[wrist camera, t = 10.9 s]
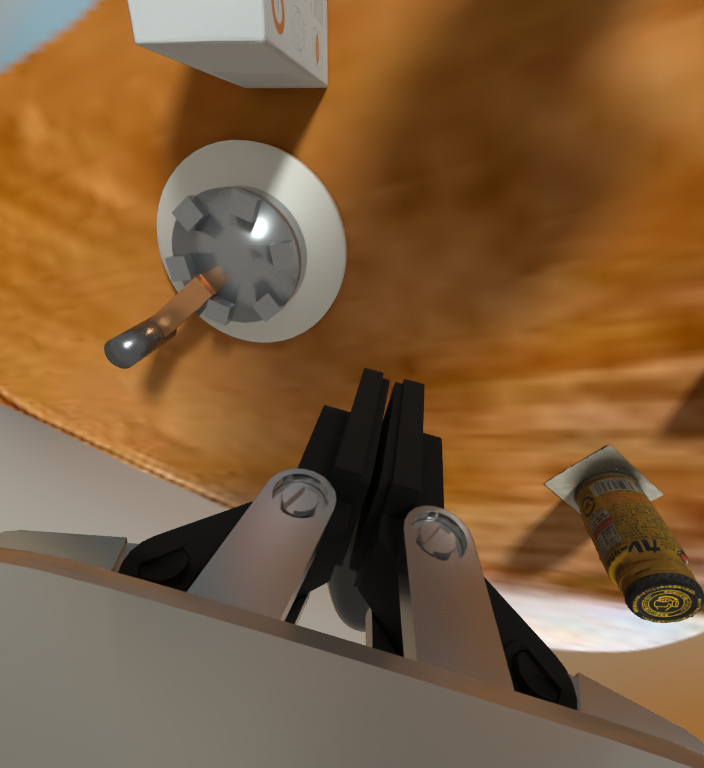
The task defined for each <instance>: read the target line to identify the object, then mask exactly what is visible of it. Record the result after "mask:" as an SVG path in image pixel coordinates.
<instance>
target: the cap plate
mask: <svg viewBox="0 0 704 768" xmlns="http://www.w3.org/2000/svg"><path fill="white" fill-rule="evenodd" d="M229 186H249V187H254V188H257V189H260V190H262V191H265V192H267V193H268V194H270V195H272V196H273V197H275V198H276V199H278V200H279V201H280V202H281V203H282V204H283V205H284V206H286V208H287V209H288V210H289V211H290V212H291V213H292V215H293V216H294V218H295V219H296V221H297V223H298V225H299V227H300V229H301V231H302V234H303V236H304V240H305V244H306V250H307V267H306V273H305V276H304V279H303V282H302V284H301V286H300V288H299V290H298V291H297V292H296V294H295V295H294V296H293V297H292V298H291V299H290V300H289V301H288V302H287V303H286V306H285V307H284V308H283V309H282V310H281V311H279V312H278V313H277V314H276V315H274V316H273V317H272V318H271V319H269V320H268V321H267V322H265V321H264V320H261V321H257V322H249V323H242V322H234V321H231V322H230V323H228V324H227V325H226V326H225V325H222V324H220V323H218V322H215V321H213V320H211V319H208V318H206V317H205V312H206V309H205V308H204V307H203V306H201V307H200V308H199V309H198V310H197V311H196V312H195V313H196V314H197V315H198V316H199V317H200V318H202V319H203V320H204V321H205V322H207V323H208V324H209V325H211V326H213V327H214V328H216V329H218V330H219V331H221V332H223V333H225V334H228V335H230V336H233V337H235V338H238V339H242V340H246V341H251V342H261V343H264V342H277V341H283V340H287V339H290V338H293V337H295V336H297V335H299V334H302V333H304V332H305V331H307V330H308V329H310V328H311V327H313V326H314V325H315V324H316V323H317V322H318V321H319V320H320V319H321V318H322V317H323V316H324V315H325V313H326V312H327V311H328V309H329V308H330V306H331V305H332V303H333V302H334V300H335V298H336V297H337V295H338V293H339V290H340V288H341V286H342V282H343V279H344V276H345V271H346V264H347V242H346V234H345V229H344V225H343V221H342V218H341V215H340V213H339V210H338V208H337V206H336V204H335V202H334V200H333V198H332V196H331V194H330V193H329V191H328V190H327V188H326V187H325V185H324V184H323V182H322V181H321V180H320V179H319V178H318V177H317V175H316V174H315V173H314V172H313V171H312V170H311V169H310V168H309V167H307V166H306V165H305V164H304V163H303V162H301V161H300V160H299V159H297V158H296V157H294V156H293V155H291V154H289V153H287V152H286V151H284V150H282V149H280V148H277V147H274V146H271V145H268V144H265V143H259V142H254V141H247V140H228V141H220V142H216V143H213V144H210V145H206V146H204V147H202V148H201V149H199V150H197V151H195V152H193V153H192V154H191V155H189V156H188V157H187V158H185V159H184V160H183V161H182V162H181V163H180V164H179V165H178V167H177V168H176V169H175V170H174V172H173V173H172V175H171V176H170V178H169V179H168V181H167V183H166V185H165V187H164V190H163V193H162V196H161V199H160V202H159V208H158V214H157V238H158V245H159V250H160V254H161V258H162V261H163V264H164V267H165V269H166V272H167V274H168V276H169V278H170V280H171V282H172V284H173V286H174V287H175V289H176V290H177V292H178V293H179V292H180V291H181V290H182V289H183V288H184V287H185V286H184V284H183V282H182V281H176V282H173V281H172V278H171V275H170V273H169V270H168V267H167V264H166V261H165V258H167V257H169V256H173V253H172V233H173V228H174V224H175V221H176V218H175V216H174V215H173V214H172V212H173V211H174V210H175V208H176V207H177V206H178V205H179V204H180V203H181V202H182V201H183V200H184V199H185V198H186V196H190V195H194V196H196V195H197V194H199V193H201V192H204V191H206V190H209V189H213V188H220V187H229Z"/></svg>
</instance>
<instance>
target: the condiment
mask: <svg viewBox="0 0 704 768" xmlns="http://www.w3.org/2000/svg"><path fill="white" fill-rule="evenodd" d="M616 468H617V470H616ZM575 481H576V484H574V482H575ZM544 484H545V485H546V486H547V487H548V488H550V489H551V490H552V491H553V492H554V493H555V494H557V495H558V496H559V497H560V498H561V499H562V500H564V501H565V502H566V503H567V504H569V505H570V506H571V507H572V508H574V509H575V510H576V511H577V512H578V513H579V514H581V516H582V518H583V521H584V524H585V527H586V529H587V531H588V533H589V535H590V537H591V539H592V541H593V543H594V545H595V547H596V550H597V552H598V554H599V559H600V560H601V561H602V563H603V565H604V568H605V570H606V572H607V574H608V576H609V578H610V579H611V581H612V582H613V583H614V584H615V585H616V586H618V588H619V590H620V592H621V594H622V595H623V596H624V598H625V602H626V604H627V606H628V608H629V609H630V610H631V611H632V612H633V613H634V614H635V615H637V616H638V617H640V618H641V619H644V620H649V621H652V622H658V623H669V622H678V621H682V620H685V619H687V618H689V617H693V615H694V614H696V613H697V612H699V611H700V609H701V608H702V606H703V604H704V593H703V590H702V588H701V587H700V585H699V584H698V583H697V581H696V579H695V577H694V575H693V573H692V572H691V570H690V562H689V559H688V557H687V556H686V554H685V552H684V551H683V549H682V548H681V546H680V545H679V543H678V542H677V540H676V539H675V537H674V536H673V535H672V533H671V531H670V530H669V528H668V527H667V525H666V524H665V522H664V521H663V519H662V518H661V516H660V515H659V513H658V512H657V510H656V509H655V507H654V506H653V504H652V503H651V502H650V501H652V500H654V499H656V498H658V497H660V496H662V495H663V494H662V493H661V492H660V491H659V490H658V489H657V488H656V487H655V486H654V485H653V484H652V483H651V482H649V481H648V480H647V479H646V478H645V477H644V476H643V475H642V474H641V473H640V472H639V471H638V470H637V469H635V468H634V467H633V466H632V465H631V464H630V463H629V462H628V461H627V460H626V459H625V458H624V457H623V456H621V455H620V454H619V453H618V452H617V451H616V450H615V449H614V448H613V447H612V446H611V445H609V446H607V447H605V448H604V449H602V450H599V451H597V452H596V453H594V454H592V455H590V456H589V457H587V458H585V459H583V460H582V461H580V462H578V463H577V464H575V465H574V466H572V467H569V468H568V469H567V470H566V471H564V472H562V473H561V474H559V475H557V476H555V477H554V478H553V479H551V480H549V481H548V482H546V483H544ZM574 485H576V487H574Z"/></svg>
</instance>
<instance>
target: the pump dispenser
mask: <svg viewBox="0 0 704 768" xmlns="http://www.w3.org/2000/svg"><path fill="white" fill-rule="evenodd" d="M357 522H358V521H357ZM356 527H357V524H356ZM356 527H355V529H354V532H353V535H352V538H351V541H350V544H349V547H348V550H347V553H346V556H345V559H344V562H343V565H342V567H339V566H336V565H335V567H334V570H333V573H332V576H331V579H330V581H329V582H327V584H328V589H329V593H330V597H331V600H332V602H333V605H334V608H335V610H336V612H337V614H338V616H339V617H340V619H341V620H342V621H343V622H344V623H345V624H346V625H347V626H349V627H350V628H352V629H354V630H357V631H362V632H366V610H367V606H368V604H367V602H366V601H365V599H364V598H363V596H362V595H361V593H360V592H359V590H358V587H355V586H354V582H355V576H356V571H353V570H349V563H350V558H351V553H352V547H353V542H354V537H355V532H356Z"/></svg>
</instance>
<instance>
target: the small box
mask: <svg viewBox="0 0 704 768" xmlns="http://www.w3.org/2000/svg"><path fill="white" fill-rule="evenodd" d="M127 4H128V9H129V15H130V20H131V25H132V30H133V35H134V42H135V43H136V44H137V45H139V46H141V47H144V48H146V49H148V50H151V51H153V52H156V53H158V54H161V55H163V56H166V57H168V58H171V59H173V60H176V61H178V62H181V63H183V64H186V65H188V66H191V67H193V68H196V69H198V70H201V71H203V72H205V73H208V74H211V75H213V76H215V77H218V78H220V79H223V80H225V81H228V82H231V83H233V84H236V85H238V86H241V87H243V88H326V87H327V86H328V62H327V0H127Z"/></svg>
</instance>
